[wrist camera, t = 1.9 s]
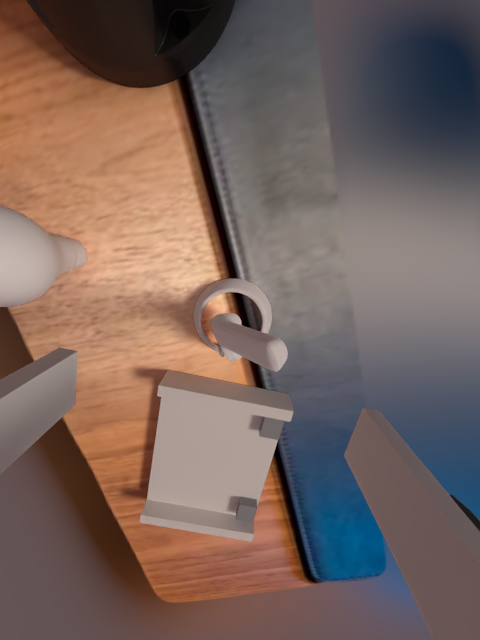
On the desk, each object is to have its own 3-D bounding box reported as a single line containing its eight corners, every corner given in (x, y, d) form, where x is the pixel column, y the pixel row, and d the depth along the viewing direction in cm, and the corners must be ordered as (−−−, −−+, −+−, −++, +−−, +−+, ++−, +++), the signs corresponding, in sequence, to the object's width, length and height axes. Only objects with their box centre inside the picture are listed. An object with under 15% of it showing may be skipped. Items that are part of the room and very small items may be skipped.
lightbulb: (114, 289, 24) (12, 323, 13) (50, 283, 24) (-103, 313, 13) (110, 221, 22) (-10, 198, 12) (41, 214, 22) (-143, 187, 12)
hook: (350, 347, 20) (296, 414, 17) (254, 323, 29) (210, 364, 27) (324, 263, 16) (251, 329, 14) (225, 267, 26) (171, 307, 23)
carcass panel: (167, 369, 26) (158, 385, 23) (288, 393, 27) (293, 411, 24) (149, 497, 31) (139, 522, 28) (251, 514, 32) (251, 541, 29)
